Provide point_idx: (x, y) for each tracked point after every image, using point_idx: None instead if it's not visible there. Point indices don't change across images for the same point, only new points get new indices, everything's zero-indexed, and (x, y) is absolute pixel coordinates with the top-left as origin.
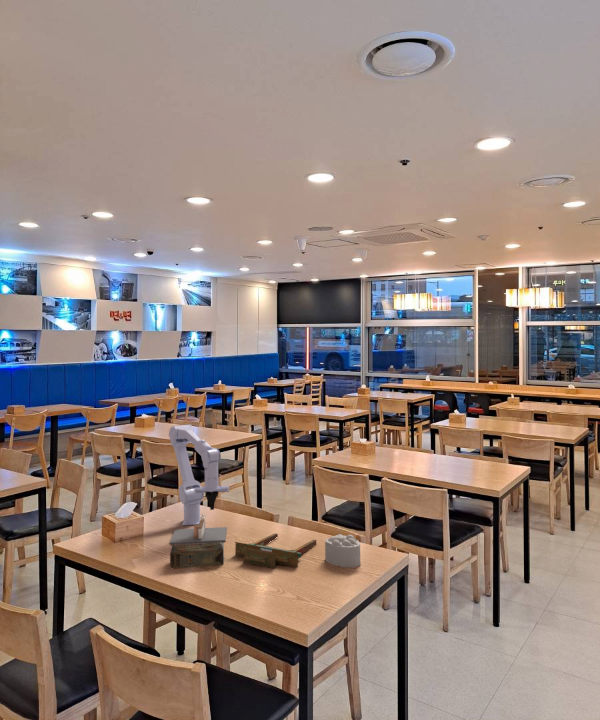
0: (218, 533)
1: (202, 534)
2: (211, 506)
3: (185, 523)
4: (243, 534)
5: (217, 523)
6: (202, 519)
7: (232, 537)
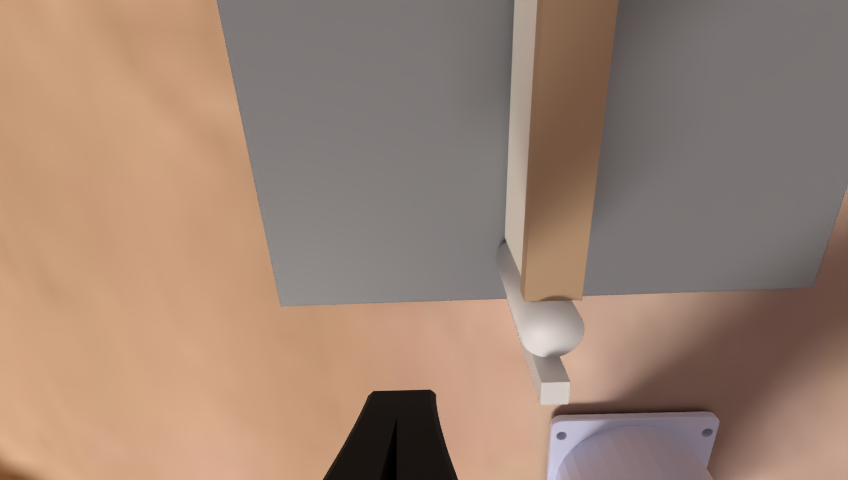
0: (329, 110)
1: (516, 13)
2: (404, 436)
3: (688, 434)
4: (63, 115)
5: None
6: (555, 253)
7: (154, 19)
